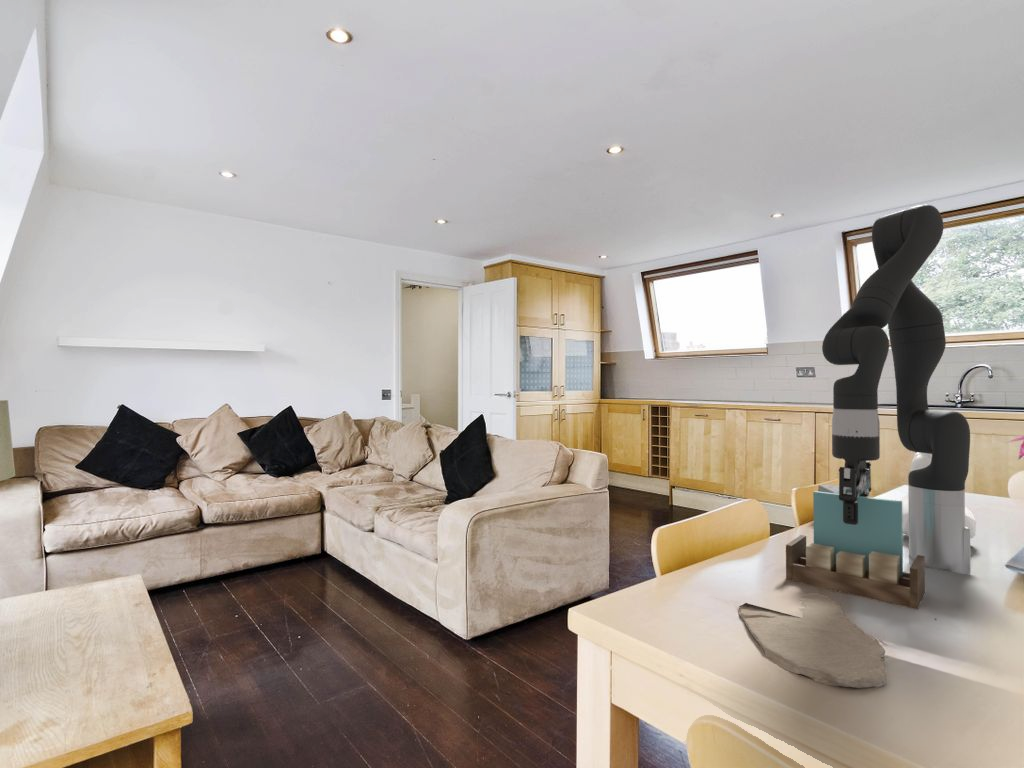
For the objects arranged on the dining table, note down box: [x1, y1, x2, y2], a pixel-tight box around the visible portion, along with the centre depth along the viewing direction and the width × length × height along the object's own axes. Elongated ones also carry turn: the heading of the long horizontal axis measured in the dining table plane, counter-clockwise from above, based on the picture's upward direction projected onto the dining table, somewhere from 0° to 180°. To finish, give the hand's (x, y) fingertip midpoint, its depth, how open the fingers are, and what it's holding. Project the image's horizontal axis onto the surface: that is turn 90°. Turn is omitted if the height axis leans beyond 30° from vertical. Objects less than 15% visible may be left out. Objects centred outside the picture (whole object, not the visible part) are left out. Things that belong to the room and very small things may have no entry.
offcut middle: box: [836, 551, 866, 578], centre depth 96 cm, size 4×3×6 cm
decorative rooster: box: [899, 452, 977, 539], centre depth 135 cm, size 25×16×25 cm, turn 138°
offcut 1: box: [806, 542, 834, 572], centre depth 100 cm, size 4×3×6 cm
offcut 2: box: [869, 551, 900, 585], centre depth 93 cm, size 4×3×7 cm
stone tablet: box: [737, 592, 887, 689], centre depth 81 cm, size 16×30×2 cm, turn 168°
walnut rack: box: [785, 534, 926, 610], centre depth 98 cm, size 20×10×8 cm, turn 46°
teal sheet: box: [812, 490, 904, 577], centre depth 100 cm, size 14×1×16 cm, turn 46°
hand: (855, 519), depth 100 cm, fingers open, 8 cm apart
